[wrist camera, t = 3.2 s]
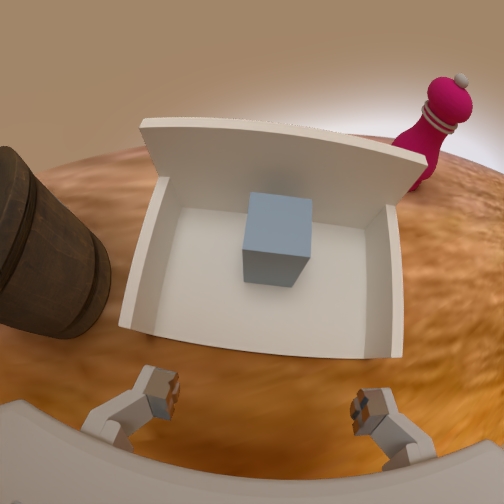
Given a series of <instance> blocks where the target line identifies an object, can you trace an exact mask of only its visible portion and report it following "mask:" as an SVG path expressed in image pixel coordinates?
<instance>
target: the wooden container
mask: <svg viewBox="0 0 504 504" xmlns="http://www.w3.org/2000/svg"><path fill="white" fill-rule="evenodd" d="M110 277H111V272H110V263H109V258H108V255H107V252H106V250H105V248H104V246H103V244H102V243H101V241H100V240H99V239H98V238H97V237H96V236H95V235H94V234H93V233H92V232H91V231H90V230H89V229H88V228H87V227H86V226H85V225H84V224H83V223H82V222H81V221H80V220H79V219H78V218H77V217H76V216H75V215H74V214H73V213H72V212H71V211H70V210H69V209H68V208H67V207H65V206H64V205H63V204H62V203H61V202H60V201H59V200H58V199H57V198H56V197H55V196H54V195H53V194H52V193H51V192H50V191H49V190H48V189H47V188H46V187H45V186H44V185H43V184H42V183H41V182H40V181H39V180H38V179H37V178H36V177H35V176H34V175H33V173H32V172H31V170H30V168H29V167H28V166H27V164H26V163H25V162H24V161H23V160H22V158H21V157H20V156H19V155H18V154H17V153H16V152H15V151H14V150H13V149H12V148H11V147H8V146H1V147H0V323H1V324H4V325H7V326H9V327H12V328H16V329H19V330H23V331H27V332H30V333H35V334H39V335H44V336H48V337H52V338H58V339H69V338H73V337H76V336H78V335H80V334H82V333H84V332H85V331H86V330H88V329H89V328H90V327H91V326H92V324H93V323H94V322H95V321H96V320H97V318H98V317H99V315H100V313H101V312H102V310H103V308H104V306H105V303H106V300H107V297H108V293H109V288H110Z"/></svg>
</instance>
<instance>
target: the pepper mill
mask: <svg viewBox="0 0 504 504" xmlns="http://www.w3.org/2000/svg"><path fill="white" fill-rule="evenodd" d="M467 86H468V79H467V78H466V76H464V75H463V74H457V75H456V76H455V78H454V80H453V79H450V78H447V77H439V78H436V79H435V80H433V81H432V82H431V84H430V85H429V87H428V91H427V94H428V99H429V100H427V101H426V102H425V105H424V106H423V107H422V113H423V114H422V116H421V118H420V119H419V121H418V122H417V123H416V124H415V125H414V126H413V127H412V128H410V129H408V130H407V131H405V132H403V133H401V134H400V135H399V136H398V137H397V138H396V139H395V140H394V142H393V143H392V146H396V147H399V148H402V149H406V150H409V151H412V152H415V153H419V154H422V155H425V158H426V161H427V164H428V167H427V168H426V169H425V170H424V172H423V173H422V174H421V176H420V177H419V178H418V179H417V181H416V182H415V183H414V184H413V186H412V187H411V188H410V189H409V190H408V191H413V190H415V189H416V188H417V187H418V185H419V184H420V183H421V181H422V180H425V179H428V178H429V177H430V176H431V175H432V173H433V172H434V170H435V168H436V165H437V162H438V156H439V151H440V147H441V145H442V142H443V141H444V139H445V138H446V136H447V135H448V134H452V133H454V130H455V129H456V128H457V126H458V123H462V122H465V121H467V120H468V119H469V117H470V115H471V113H472V108H473V105H472V100H471V97H470V95H469V94H468V92H467V91H466V90H465V88H466V87H467Z"/></svg>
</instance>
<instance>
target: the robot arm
mask: <svg viewBox="0 0 504 504" xmlns="http://www.w3.org/2000/svg"><path fill="white" fill-rule="evenodd" d="M178 378H179V376H178V373H177V372H173V371H169V370H165V369H161V368H157V367H153V366H150V365H145V366H144V367H143V369H142V370H141V372H140V374H139V376H138V378H137V380H136V382H135V384H134V386H133V389H132V390H127V391H125V392H124V393H122V394H120V395H118V396H116V397H115V398H113V399H111V400H109V401H107V402H106V403H104V404H102V405H100V406H98V407H96V408H95V409H93V410H91V411H90V413H89V414H88V416H87V418H86V420H85V422H84V424H83V425H82V427H81V429H80V431H78V430H76V429H74V428H72V427H70V426H68V425H66V424H64V423H62V422H60V421H59V420H57V419H55V418H53V417H51V416H50V415H48V414H46V413H45V412H43V411H41V410H40V409H38V408H36V407H35V406H33V405H32V404H30V403H29V402H27V401H25V400H22V399H19V400H15V401H12V402H8V403H6V404H3V405H0V504H504V450H503V449H502V448H501V447H499V446H498V445H497V444H495V443H494V442H492V441H491V440H489V439H485V440H482V441H479V442H477V443H475V444H473V445H470V446H468V447H465V448H463V449H460V450H458V451H455V452H452V453H450V454H447V455H444V456H441V457H437V454H436V451H435V448H434V445H433V442H432V439H431V437H429V436H428V435H427V434H426V433H425V432H423V431H422V430H421V429H420V428H419V427H418V426H416V425H415V424H414V423H413V422H412V421H410V420H409V419H408V418H407V417H406V416H405V415H403V414H402V413H399V411H398V408H397V405H396V402H395V400H394V397H393V394H392V391H391V389H390V388H369V389H360V390H359V391H358V393H357V397H356V398H355V399H353V401H352V403H351V406H350V416H351V418H352V419H353V420H354V423H353V424H352V426H353V432H354V436H360V435H370V436H371V437H372V439H373V440H374V441H375V442H376V443H377V445H378V446H379V447H380V448H381V449H382V450H383V452H384V453H385V454H386V455H387V456H388V458H389V459H390V460H389V461H388V462H387V463H385V464H384V465H383V466H382V471H383V472H378V473H372V474H365V475H358V476H351V477H341V478H330V479H311V480H277V479H258V478H246V477H237V476H229V475H222V474H215V473H209V472H203V471H198V470H193V469H188V468H184V467H180V466H175V465H171V464H167V463H164V462H160V461H157V460H153V459H150V458H146V457H143V456H140V455H137V454H134V453H133V450H134V448H133V446H132V444H131V443H130V441H129V439H128V438H127V437H129V436H130V435H131V434H133V433H134V432H135V431H137V430H138V429H139V428H141V427H142V426H143V425H144V424H146V423H147V422H148V421H150V420H151V419H152V418H153V417H157V418H161V419H165V420H170V421H171V419H172V416H173V413H174V410H175V408H174V404H175V403H176V402H177V401H178V398H179V393H180V383H179V382H178Z"/></svg>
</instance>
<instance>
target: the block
mask: <svg viewBox="0 0 504 504" xmlns="http://www.w3.org/2000/svg"><path fill="white" fill-rule="evenodd" d="M311 235H312V200H311V199H304V198H297V197H289V196H282V195H274V194H265V193H257V192H251V194H250V200H249V207H248V214H247V220H246V227H245V234H244V241H243V247H242V256H243V278H244V282H247V283H255V284H264V285H272V286H281V287H290V288H292V286H293V285H294V283H295V282H296V280H297V279H298V277H299V275H300V274H301V272H302V271H303V269H304V267H305V266H306V264H307V262H308V261H309V259H310V258H311Z"/></svg>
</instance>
